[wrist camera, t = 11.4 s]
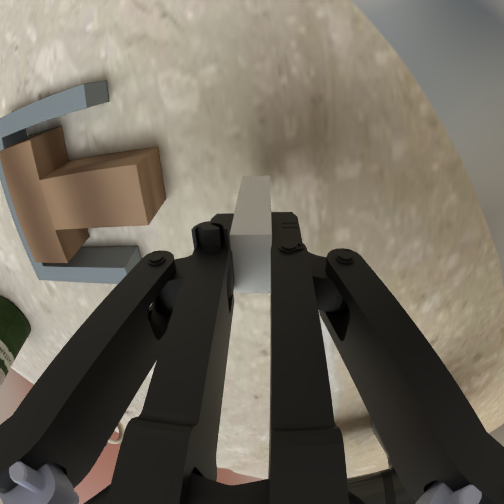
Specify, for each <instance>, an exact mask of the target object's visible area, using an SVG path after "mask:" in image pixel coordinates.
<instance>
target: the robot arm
mask: <svg viewBox="0 0 504 504" xmlns="http://www.w3.org/2000/svg"><path fill="white" fill-rule="evenodd" d="M192 237H193V243H194V252H193V254H192V255H191V256H189V257H185V258H180V259H175V260H174V256H173V254H172V253H171V252H168V251H154V252H152V253H149V254H147V255H146V256H145V257H143V258H142V259H141V260H140V261H139V262H138V263H137V264H136V265H135V266H134V268H133V269H132V270H131V271H130V272H129V273H128V274H127V275H126V276H125V277H124V278H123V279H122V280H121V281H120V283H119V284H118V285H117V286H116V287H115V288H114V289H113V290H112V291H111V292H110V294H109V295H108V296H107V297H106V298H105V299H104V300H103V301H102V302H101V304H100V305H99V306H98V307H97V308H96V309H95V310H94V312H93V313H92V314H91V315H90V316H89V317H88V319H87V320H86V321H85V322H84V323H83V324H82V326H81V327H80V328H79V329H78V330H77V331H76V333H75V334H74V335H73V336H72V337H71V339H70V340H69V341H68V342H67V344H66V345H65V346H64V347H63V348H62V350H61V351H60V352H59V353H58V355H57V356H56V357H55V358H54V360H53V361H52V362H51V364H50V365H49V366H48V367H47V369H46V370H45V371H44V373H43V374H42V375H41V377H40V378H39V379H38V381H37V382H36V383H35V385H34V386H33V387H32V389H31V390H30V391H29V393H28V394H27V395H26V397H25V398H24V400H23V401H22V402H21V404H20V405H19V407H18V408H17V410H16V411H15V412H14V414H13V415H12V416H11V417H10V418H8V419H7V420H6V421H5V422H3V423H2V424H1V425H0V497H1V499H2V501H3V503H4V504H78V503H79V497H78V495H77V493H76V492H75V491H74V488H75V487H76V486H77V485H78V484H79V483H80V482H81V481H82V480H83V479H84V478H85V476H86V475H87V474H88V473H89V472H90V470H91V469H92V467H93V466H94V464H95V462H96V461H97V459H98V457H99V456H100V454H101V452H102V451H103V449H104V447H105V445H106V444H107V442H108V440H109V438H110V437H111V435H112V433H113V432H114V430H115V428H116V427H117V425H118V423H119V421H120V420H121V418H122V416H123V415H124V413H125V411H126V410H127V408H128V406H129V405H130V403H131V401H132V400H133V398H134V396H135V395H136V393H137V391H138V390H139V388H140V386H141V385H142V383H143V381H144V380H145V378H146V376H147V375H148V373H149V372H150V370H151V368H152V367H153V365H154V363H155V362H156V360H157V362H156V365H155V368H154V372H153V375H152V378H151V382H150V385H149V389H148V392H147V396H146V399H145V403H144V406H143V410H142V412H141V414H140V415H139V417H135V418H132V419H131V420H130V421H129V422H128V424H127V426H126V429H125V432H124V435H123V439H122V442H121V446H120V450H119V454H118V458H117V462H116V466H115V470H114V474H113V478H112V482H111V484H110V485H109V486H107V487H106V488H105V489H103V490H102V491H101V492H99V493H98V494H97V495H95V496H94V497H92V498H91V499H90V500H88V501H87V502H85V503H84V504H504V447H503V446H502V445H501V444H500V443H499V442H497V441H496V440H495V439H494V438H493V437H492V436H491V435H489V434H488V433H487V432H486V430H485V428H484V427H483V425H482V423H481V422H480V420H479V418H478V416H477V415H476V413H475V411H474V410H473V408H472V407H471V405H470V403H469V402H468V400H467V399H466V397H465V395H464V394H463V392H462V391H461V389H460V388H459V386H458V384H457V383H456V381H455V380H454V378H453V377H452V375H451V374H450V372H449V371H448V369H447V368H446V366H445V365H444V364H443V362H442V361H441V359H440V358H439V356H438V355H437V353H436V352H435V351H434V349H433V348H432V346H431V345H430V344H429V342H428V341H427V339H426V338H425V337H424V335H423V334H422V333H421V331H420V330H419V328H418V327H417V326H416V324H415V323H414V322H413V320H412V319H411V318H410V316H409V315H408V314H407V313H406V311H405V310H404V309H403V307H402V306H401V305H400V303H399V302H398V301H397V300H396V298H395V297H394V296H393V295H392V293H391V292H390V291H389V290H388V288H387V287H386V286H385V285H384V283H383V282H382V281H381V280H380V278H379V277H378V276H377V275H376V274H375V272H374V271H373V270H372V269H371V267H370V266H369V265H368V264H367V263H366V262H365V260H364V259H363V258H362V257H361V256H360V255H359V254H358V253H357V252H354V251H352V250H350V249H344V248H342V249H335V250H332V251H330V252H329V253H328V255H327V258H326V257H321V256H317V255H314V254H311V253H309V252H308V251H307V248H306V246H305V244H303V243H302V238H301V233H300V228H299V224H298V218H297V216H296V215H294V214H293V213H292V212H271V195H270V176H243V177H242V181H241V186H240V190H239V194H238V199H237V203H236V208H235V212H234V214H217V215H215V216H214V217H213V218H212V219H211V221H208V222H203V223H200V224H198V225H196V226H194V227H193V229H192ZM233 290H235V293H271V368H270V440H269V475H268V479H266V480H261V481H256V482H251V483H246V484H240V485H232V486H231V485H226V484H222V483H219V482H216V479H217V466H216V450H217V441H218V432H219V423H220V415H221V406H222V397H223V389H224V380H225V372H226V364H227V355H228V347H229V339H230V331H231V323H232V315H233V307H234V295H233ZM151 303H152V305H151ZM150 305H151V306H150ZM149 307H150V308H149ZM318 310H319V312H320V316H321V318H322V320H323V322H324V324H325V326H326V327H327V329H328V331H329V333H330V335H331V337H332V339H333V341H334V343H335V345H336V347H337V349H338V351H339V353H340V355H341V357H342V359H343V361H344V363H345V365H346V367H347V369H348V371H349V373H350V375H351V377H352V379H353V381H354V383H355V385H356V387H357V389H358V391H359V394H360V396H361V398H362V400H363V402H364V404H365V406H366V408H367V410H368V412H369V414H370V416H371V425H372V430H373V432H374V434H375V436H376V438H377V439H378V441H379V443H380V444H381V446H382V448H383V449H384V451H385V453H386V454H387V458H388V464H389V469H386V470H383V471H379V472H375V473H371V474H366V475H362V476H357V477H352V478H347V473H346V462H345V453H344V443H343V438H342V433H341V430H340V428H339V427H337V426H336V425H335V422H334V416H333V407H332V399H331V391H330V384H329V376H328V369H327V362H326V355H325V349H324V342H323V336H322V330H321V324H320V318H319V312H318Z"/></svg>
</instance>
